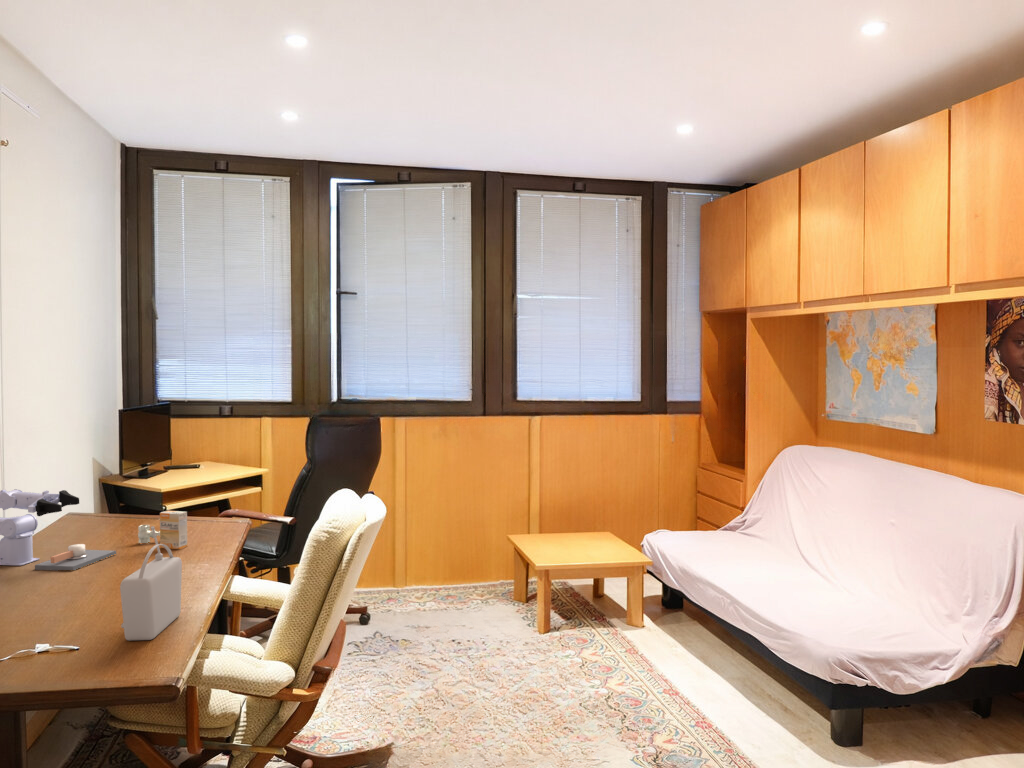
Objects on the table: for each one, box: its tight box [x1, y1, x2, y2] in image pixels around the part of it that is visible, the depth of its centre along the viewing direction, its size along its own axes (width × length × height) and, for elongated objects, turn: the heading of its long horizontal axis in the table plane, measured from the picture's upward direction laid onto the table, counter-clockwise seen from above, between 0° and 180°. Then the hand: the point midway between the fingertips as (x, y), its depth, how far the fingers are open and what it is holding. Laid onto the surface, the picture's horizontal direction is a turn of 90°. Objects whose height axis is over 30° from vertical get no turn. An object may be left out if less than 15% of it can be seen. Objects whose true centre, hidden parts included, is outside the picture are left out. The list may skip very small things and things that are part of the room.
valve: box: [137, 524, 160, 544], centre depth 274 cm, size 7×7×12 cm
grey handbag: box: [119, 525, 183, 642], centre depth 183 cm, size 22×8×25 cm, turn 4°
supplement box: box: [159, 510, 188, 550], centre depth 265 cm, size 8×5×13 cm, turn 76°
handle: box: [50, 543, 86, 563], centre depth 243 cm, size 13×5×3 cm, turn 171°
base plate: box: [34, 549, 117, 571], centre depth 247 cm, size 14×20×2 cm
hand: (69, 504), depth 243 cm, fingers open, 7 cm apart
